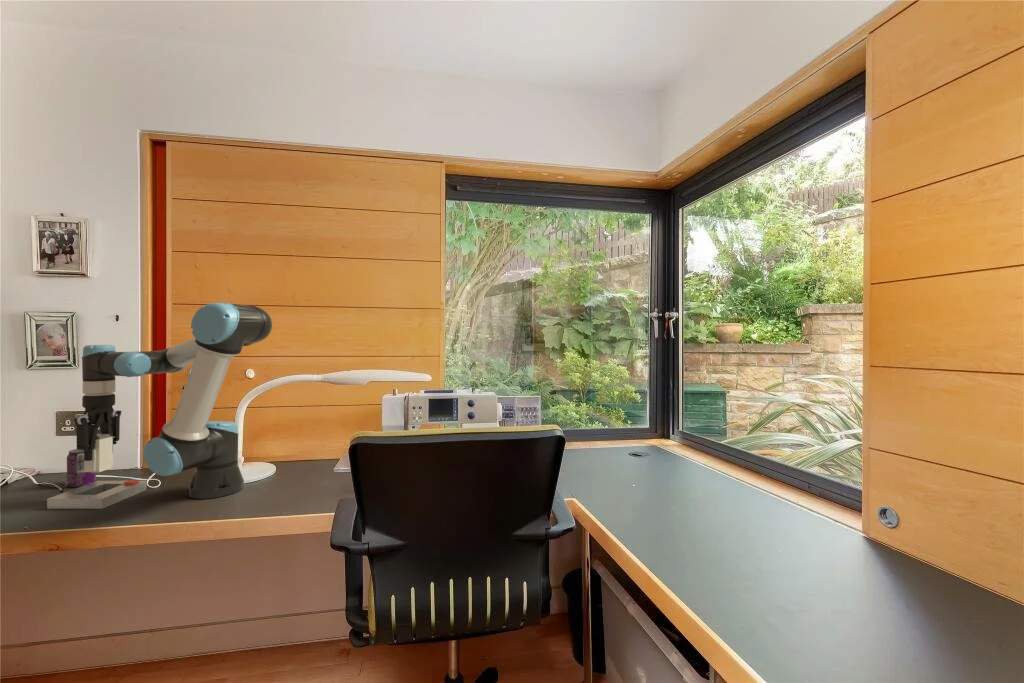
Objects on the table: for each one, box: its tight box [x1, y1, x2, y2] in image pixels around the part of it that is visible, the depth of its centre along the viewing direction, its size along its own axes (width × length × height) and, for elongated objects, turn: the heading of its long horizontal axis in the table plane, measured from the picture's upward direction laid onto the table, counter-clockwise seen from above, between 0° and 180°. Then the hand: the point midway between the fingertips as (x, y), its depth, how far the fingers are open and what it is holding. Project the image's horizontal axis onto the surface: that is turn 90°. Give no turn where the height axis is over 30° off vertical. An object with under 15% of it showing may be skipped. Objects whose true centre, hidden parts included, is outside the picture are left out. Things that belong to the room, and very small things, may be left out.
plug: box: [85, 433, 114, 473], centre depth 137 cm, size 4×4×11 cm
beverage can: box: [66, 448, 97, 488], centre depth 150 cm, size 7×7×12 cm
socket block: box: [46, 479, 147, 510], centre depth 137 cm, size 16×16×4 cm
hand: (98, 467), depth 137 cm, fingers closed on plug, 4 cm apart
